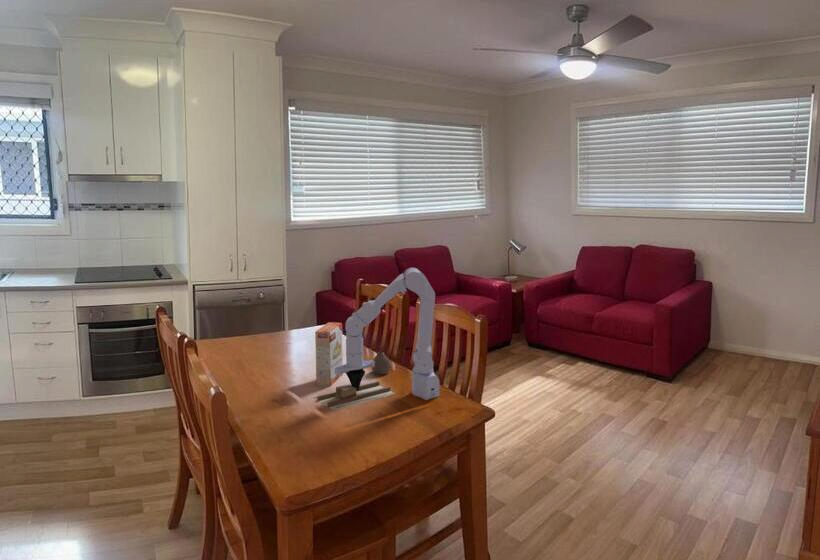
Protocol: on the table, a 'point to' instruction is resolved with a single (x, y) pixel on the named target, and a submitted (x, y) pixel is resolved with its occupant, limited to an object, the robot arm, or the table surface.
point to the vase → (381, 364)
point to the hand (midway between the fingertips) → (355, 390)
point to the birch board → (363, 395)
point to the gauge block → (345, 391)
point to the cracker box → (328, 353)
